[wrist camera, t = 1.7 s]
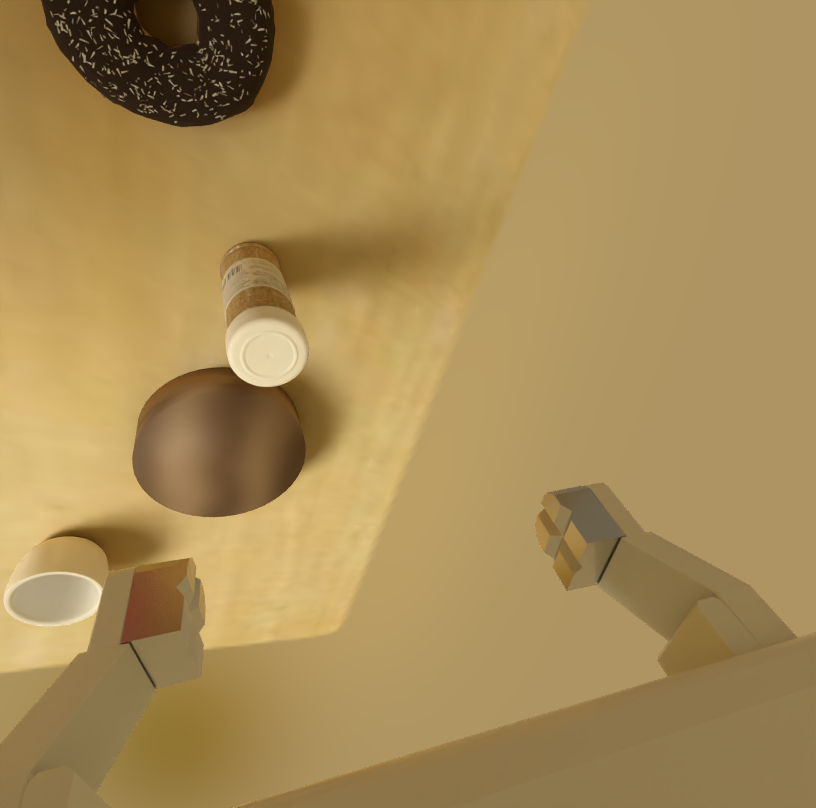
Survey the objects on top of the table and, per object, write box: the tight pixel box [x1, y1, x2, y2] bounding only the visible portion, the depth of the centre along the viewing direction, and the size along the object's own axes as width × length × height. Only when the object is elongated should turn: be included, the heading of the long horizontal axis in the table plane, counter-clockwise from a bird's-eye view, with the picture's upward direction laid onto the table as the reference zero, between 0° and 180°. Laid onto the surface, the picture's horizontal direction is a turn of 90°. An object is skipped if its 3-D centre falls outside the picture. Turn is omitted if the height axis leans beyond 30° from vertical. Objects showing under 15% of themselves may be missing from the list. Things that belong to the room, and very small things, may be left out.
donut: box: [41, 0, 275, 127], centre depth 27 cm, size 11×12×4 cm
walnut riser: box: [132, 368, 305, 517], centre depth 44 cm, size 14×14×4 cm
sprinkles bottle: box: [220, 243, 309, 387], centre depth 33 cm, size 5×5×14 cm
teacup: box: [4, 536, 109, 626], centre depth 46 cm, size 10×8×5 cm
